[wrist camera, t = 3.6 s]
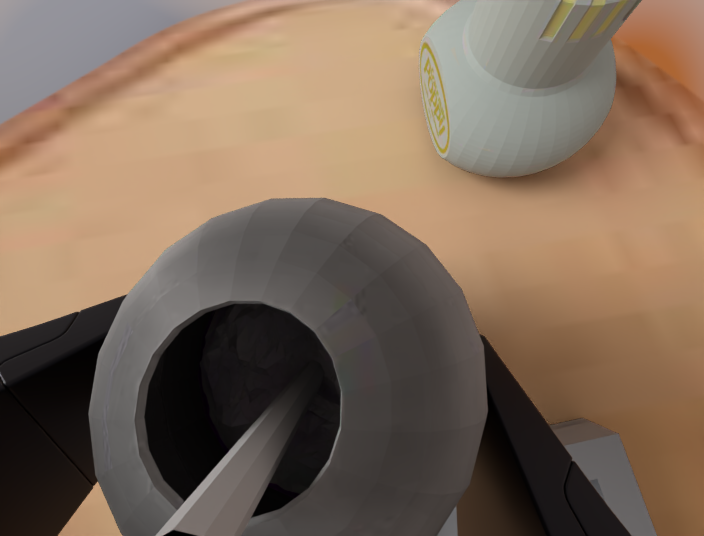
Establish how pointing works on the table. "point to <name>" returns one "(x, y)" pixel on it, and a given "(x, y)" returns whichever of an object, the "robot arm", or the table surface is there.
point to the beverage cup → (290, 381)
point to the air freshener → (518, 81)
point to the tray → (598, 474)
